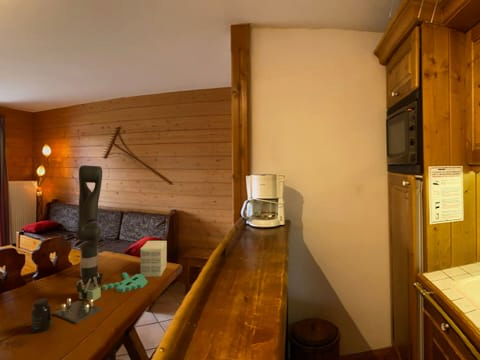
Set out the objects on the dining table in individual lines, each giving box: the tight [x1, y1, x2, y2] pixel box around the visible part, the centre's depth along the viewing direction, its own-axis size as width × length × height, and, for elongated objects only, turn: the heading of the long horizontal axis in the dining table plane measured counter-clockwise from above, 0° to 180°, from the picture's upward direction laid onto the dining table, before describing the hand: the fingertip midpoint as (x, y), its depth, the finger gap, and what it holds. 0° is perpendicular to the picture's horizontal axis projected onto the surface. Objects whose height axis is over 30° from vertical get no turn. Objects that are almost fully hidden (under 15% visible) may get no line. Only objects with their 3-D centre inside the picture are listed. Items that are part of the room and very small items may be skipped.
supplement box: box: [140, 240, 168, 277], centre depth 175 cm, size 17×13×18 cm
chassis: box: [53, 297, 102, 325], centre depth 125 cm, size 16×12×5 cm
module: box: [78, 284, 102, 302], centre depth 140 cm, size 9×5×5 cm, turn 74°
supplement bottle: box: [30, 297, 52, 334], centre depth 113 cm, size 7×7×12 cm
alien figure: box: [101, 272, 148, 293], centre depth 157 cm, size 20×2×20 cm
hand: (89, 296), depth 140 cm, fingers closed on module, 5 cm apart
